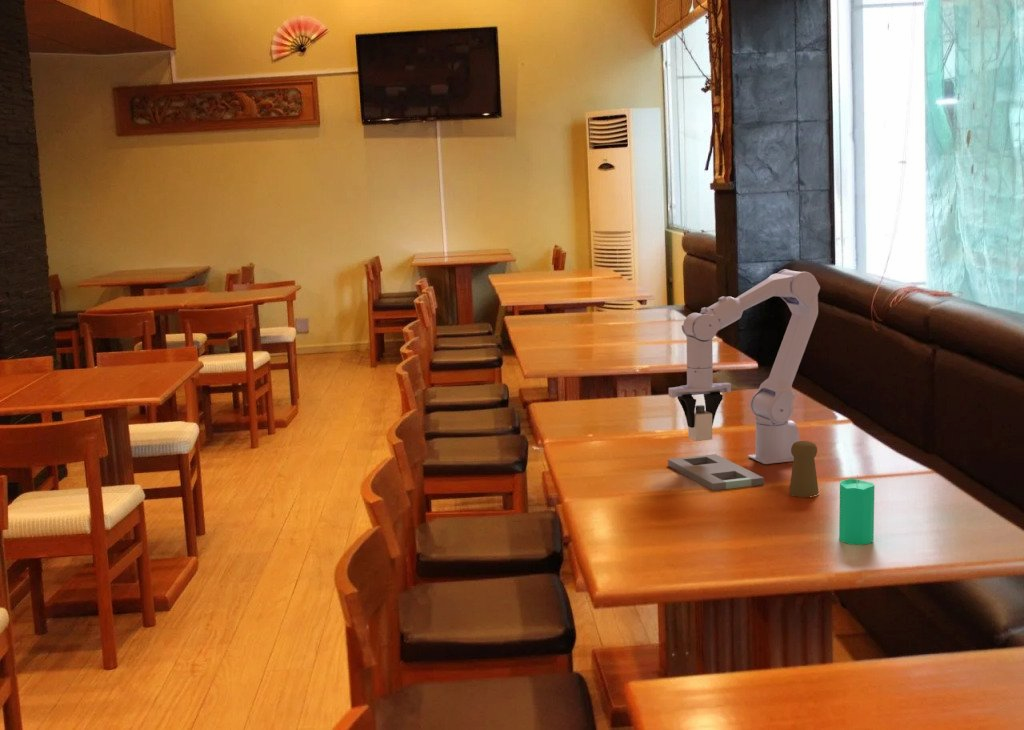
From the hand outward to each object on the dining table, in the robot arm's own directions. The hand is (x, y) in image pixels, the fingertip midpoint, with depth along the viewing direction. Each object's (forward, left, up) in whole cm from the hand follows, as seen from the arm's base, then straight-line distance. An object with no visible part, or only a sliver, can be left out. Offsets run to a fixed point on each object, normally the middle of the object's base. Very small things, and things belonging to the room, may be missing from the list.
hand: (700, 425), depth 260 cm
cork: (-10, +28, -10) cm, 31 cm away
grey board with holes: (0, +7, -10) cm, 12 cm away
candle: (-3, +58, -10) cm, 59 cm away
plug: (0, 0, -3) cm, 3 cm away
